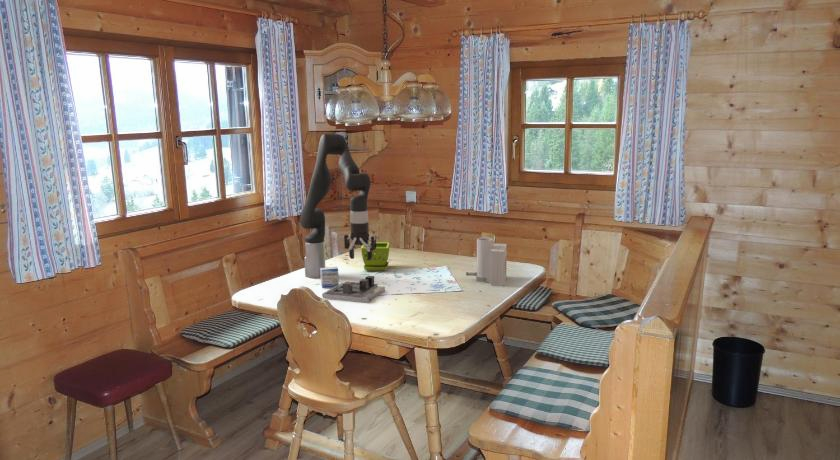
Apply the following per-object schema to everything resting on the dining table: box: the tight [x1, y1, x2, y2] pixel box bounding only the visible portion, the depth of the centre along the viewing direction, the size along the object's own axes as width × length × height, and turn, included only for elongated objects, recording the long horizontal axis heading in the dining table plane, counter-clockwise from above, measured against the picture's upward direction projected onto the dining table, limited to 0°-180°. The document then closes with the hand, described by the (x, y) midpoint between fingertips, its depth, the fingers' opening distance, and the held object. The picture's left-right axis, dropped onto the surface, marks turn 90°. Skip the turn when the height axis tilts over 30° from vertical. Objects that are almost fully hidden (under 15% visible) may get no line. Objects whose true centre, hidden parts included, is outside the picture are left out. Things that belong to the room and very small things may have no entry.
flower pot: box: [360, 241, 391, 272], centre depth 318 cm, size 14×14×13 cm
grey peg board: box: [321, 275, 386, 304], centre depth 275 cm, size 22×18×7 cm
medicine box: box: [320, 266, 340, 289], centre depth 289 cm, size 8×4×9 cm, turn 105°
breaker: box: [342, 281, 353, 294], centre depth 270 cm, size 3×3×5 cm
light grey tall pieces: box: [465, 237, 508, 287], centre depth 293 cm, size 16×19×20 cm
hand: (360, 259), depth 264 cm, fingers open, 7 cm apart
